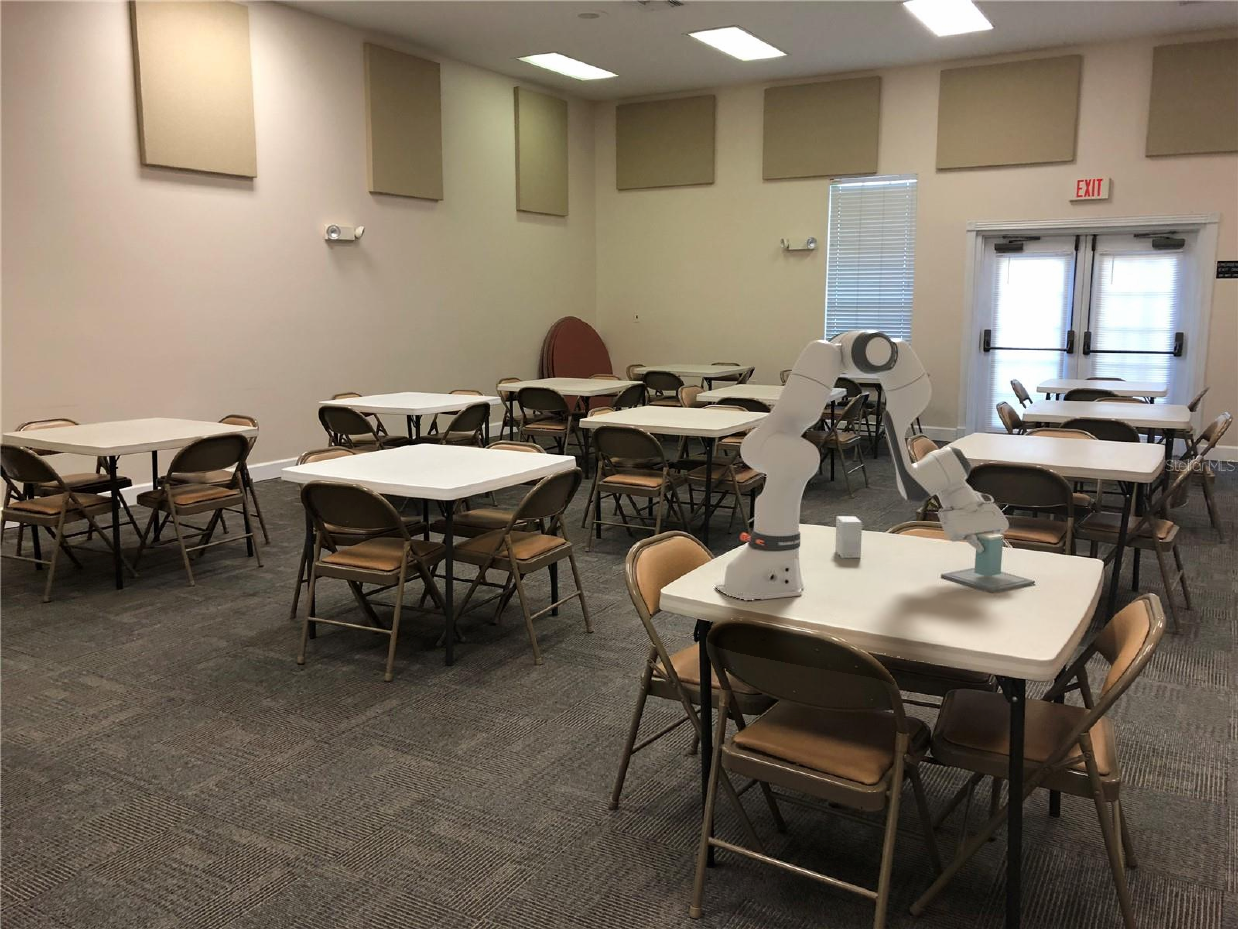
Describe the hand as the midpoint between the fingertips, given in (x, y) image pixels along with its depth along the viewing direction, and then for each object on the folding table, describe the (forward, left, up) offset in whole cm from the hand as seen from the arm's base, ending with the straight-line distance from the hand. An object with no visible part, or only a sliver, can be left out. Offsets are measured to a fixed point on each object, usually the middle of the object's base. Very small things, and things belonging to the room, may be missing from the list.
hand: (991, 549), depth 229 cm
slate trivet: (0, +1, -8) cm, 8 cm away
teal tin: (0, +1, -6) cm, 6 cm away
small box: (-13, +38, -9) cm, 41 cm away
